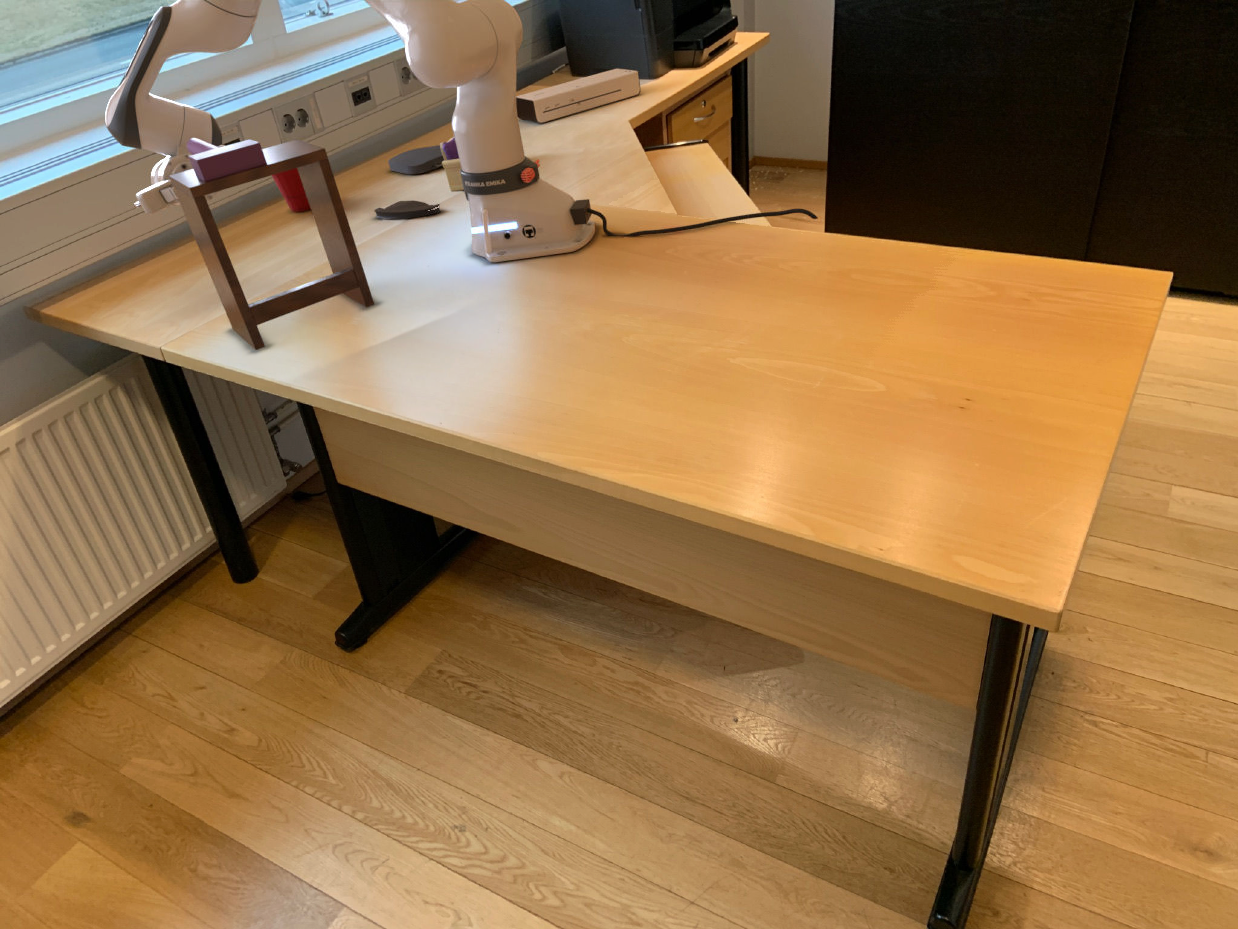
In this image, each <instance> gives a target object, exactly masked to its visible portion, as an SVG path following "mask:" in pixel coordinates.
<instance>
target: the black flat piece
mask: <svg viewBox="0 0 1238 929" xmlns="http://www.w3.org/2000/svg"><path fill="white" fill-rule="evenodd" d="M438 206H439V208H437V209H435V210H431V209H433V208H435V207H438ZM428 210H430V211H428ZM373 211H374V213H375V215H376V218H377V219H383V220H407V219H413V218H418V217H425V216H429V215H435V214H438V213H440V212H441V208H440V203H437V204H428V203H426V202H424V201H421V200H420V201H419V200H400V201H397V202H395V203H392V204H390V205H388V206H387V207H385V208H384V207H377V208H375V209H374V210H373Z"/></svg>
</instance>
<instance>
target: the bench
mask: <svg viewBox="0 0 1238 929" xmlns="http://www.w3.org/2000/svg"><path fill="white" fill-rule="evenodd" d="M262 150H263V153H264V156H265V159H266V162H267V164H265V165H262V166H258V167H255V168H251V169H248V170H245V171H241V172H238V173H234V174H231V175H227V176H224V177H221V178H217V179H214V180H210V181H207V182H205V181H203V180H201V179H199V178H197V176H196V174H195V172H194V169H191V170H188V171H184V172H181V173H177V174H174V175H170V176H169V178H170V181H171V183H172V185H173V188H174V190H175V193H176V195H177V197H178V200H179V202H180V204H181V206H180V207H181V209H182V212H183V214H184V216H185V219H186V221H187V223H188V225H189V228H190V230H191V233H192V235H193V237H194V240H195V242H196V245H197V247H198V249H199V252H200V254H201V256H202V260H203V262H204V263H205V266H206V269H207V271H208V273H209V276H210V278H211V281H212V283H213V285H214V287H215V290H216V293H217V295H218V297H219V299H220V302H221V304H222V306H223V309H224V311H225V314H226V316H227V319H228V321H229V323H230V327H231V328H232V330H233V332H235V333H236V334H237V335H238V336H239V337H241V338H242V339H243V340H244V341H245V342H246V343H247V344H248V345H250V346H251V348H252V349H254V350H255V351H257V350H260V349H263V348H265V347H266V345H265V342H264V339H263V337H262V335H261V333H260V330H259V328H258V326H259V325H261V324H265V323H267V322H270V321H273V320H275V319H278V318H281V317H283V316H285V315H288V314H291V313H294V312H296V311H299V310H302V309H305V308H307V307H310V306H312V305H315V304H318V303H321V302H324V301H327V300H329V299H331V298H334V297H336V296H339V295H342V294H344V295H345V296H347V297H348V298H350V299H352V300H353V301H355V302H357V303H358V304H360V305H361V306H363V307H364V308H369V307H372V306H375V301H374V298H373V295H372V292H371V289H370V285H369V282H368V279H367V276H366V273H365V270H364V267H363V264H362V261H361V260H362V259H361V257H360V254H359V251H358V247H357V245H356V241H355V239H354V236H353V232H352V229H351V226H350V223H349V220H348V217H347V214H346V210H345V207H344V204H343V201H342V197H341V194H340V192H339V188H338V185H337V182H336V179H335V176H334V172H333V170H332V167H331V163H330V160H329V156H328V154H327V151H326V148H325V147H322V146H318V145H316V144H313V143H309V142H306V141H303V140H300V139H294V140H290V141H286V142H284V143H279V144H276V145H272V146H269V147H265V148H262ZM295 168H297V169H298V172H299V175H300V178H301V181H302V184H303V187H304V190H305V193H306V196H307V199H308V202H309V205H310V208H311V209H310V210H311V214H312V216H313V219H314V222H315V225H316V228H317V231H318V233H319V237H320V240H321V243H322V246H323V249H324V252H325V254H326V258H327V261H328V263H329V266H330V269H331V273H332V274H328V275H326V276H323V277H320V278H318V279H314V280H313V281H309V282H307V283H304V284H301V285H298V286H296V287H293V288H289V289H287V290H285V291H281V292H279V293H276V294H273V295H271V296H267V297H264V298H262V299H260V300H257V301H254V302H252V303H249V302H248V300H247V298H246V295H245V292H244V290H243V288H242V285H241V283H240V280H239V277H238V275H237V273H236V269H235V268H234V266H233V263H232V260H231V257H230V255H229V253H228V251H227V248H226V246H225V243H224V240H223V239H222V235H221V233H220V231H219V228H218V225H217V223H216V221H215V218H214V216H213V213H212V211H211V209H210V206H209V202H208V203H207V201H206V198H205V196H204V195H208V194H211V193H214V192H218V191H221V190H222V191H224V190H227V189H231V188H234V187H238V186H241V185H245V184H247V183H251V182H255V181H257V180H262V179H264V178H267V177H272V176H271V175H274V174H278V173H281V172H285V171H288V170H291V169H295ZM222 191H221V192H222Z"/></svg>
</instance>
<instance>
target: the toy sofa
mask: <svg viewBox="0 0 1238 929" xmlns="http://www.w3.org/2000/svg"><path fill="white" fill-rule="evenodd" d="M439 145H440V148H441V151H442V154H443V157H444V161H443V162H442V165H443V166H442V168H444V171H445V174H446V178H447V182H448V187H449V190H450V192H456V191H464V189H463V185H462V179H461V174H460V170H461V168H462V167H461V163H460V159H459V155H458V150H457V146H456V142H455V138H454V135H453V136H452V137H450V139H448V140H447V141H441V142H439Z"/></svg>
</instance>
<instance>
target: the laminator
mask: <svg viewBox="0 0 1238 929" xmlns="http://www.w3.org/2000/svg"><path fill="white" fill-rule="evenodd" d="M640 93H641V81H640V73H639V71H638V70H633V69H627V68H626V69H625V68H618V67H617V68H614V69H610V70H606V71H602V72H599V73H596V74H592V75H589V76H584V77H581V78H577V79H573V80H570V81H566V82H563V83H560V84H556V85H552V86H549V87H545V88H540V89H537V90H534V91H530V92H526V93H523V94H520V95H516V107H517V116H518V120H519V119H520V120H526V121H530V122H533V123H537V124H546V123H549V122H553V121H556V120H559V119H563V118H566V117H569V116H570V117H571V116H572V115H576V114H577V115H578V114H580V113H584V112H586V111H589V110H593V109H597V108H599V107H603V106H608V105H609V104H610V105H611V104H615V103H617V102H620V101H624V100H627V99H631V98H634V97H637V96H638V95H640Z"/></svg>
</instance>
